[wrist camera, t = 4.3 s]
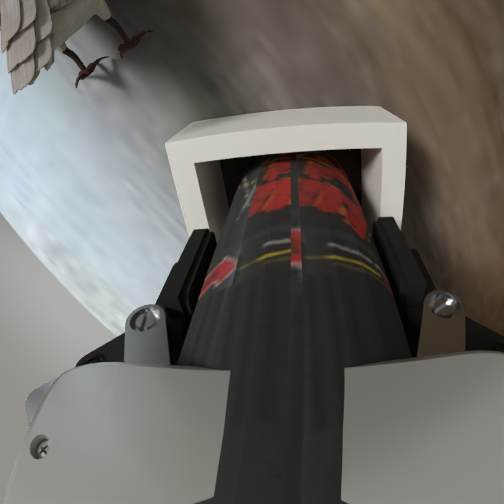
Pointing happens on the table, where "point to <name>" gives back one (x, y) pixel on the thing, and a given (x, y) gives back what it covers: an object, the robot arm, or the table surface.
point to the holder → (283, 141)
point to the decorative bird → (49, 34)
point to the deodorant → (291, 327)
